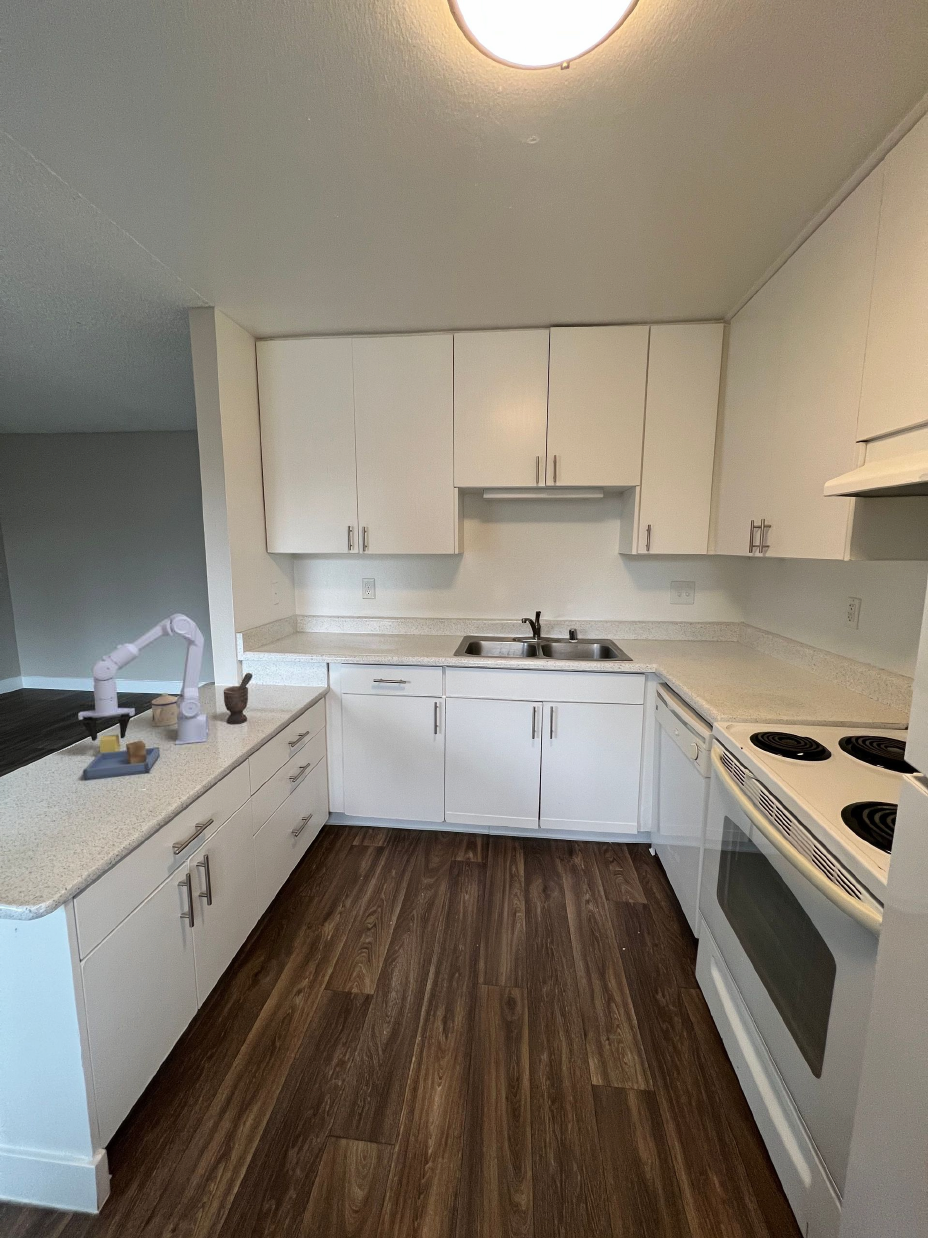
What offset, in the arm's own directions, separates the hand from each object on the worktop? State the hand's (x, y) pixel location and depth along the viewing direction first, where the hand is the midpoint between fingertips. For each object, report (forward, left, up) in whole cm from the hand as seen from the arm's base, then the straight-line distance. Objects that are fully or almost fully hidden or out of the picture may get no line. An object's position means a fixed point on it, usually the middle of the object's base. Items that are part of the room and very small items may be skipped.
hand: (109, 738), depth 155 cm
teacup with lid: (-10, -27, -6) cm, 29 cm away
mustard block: (0, 0, -6) cm, 6 cm away
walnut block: (-10, +12, -5) cm, 16 cm away
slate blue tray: (-7, +12, -6) cm, 15 cm away
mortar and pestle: (-37, -22, -6) cm, 43 cm away
